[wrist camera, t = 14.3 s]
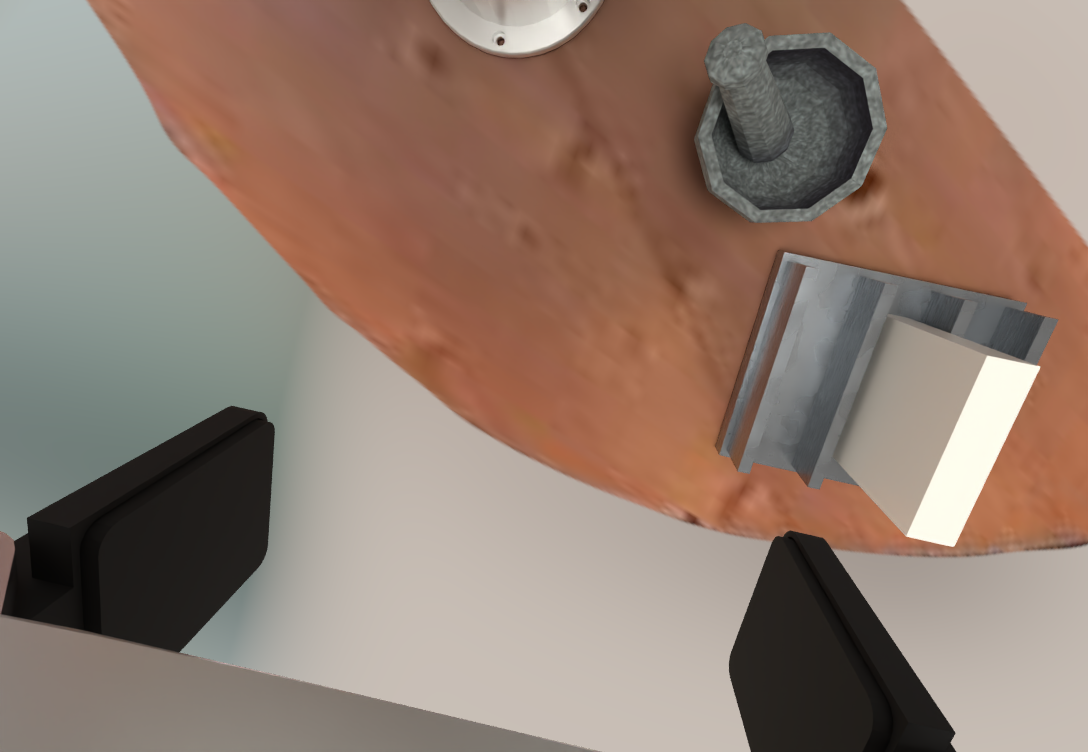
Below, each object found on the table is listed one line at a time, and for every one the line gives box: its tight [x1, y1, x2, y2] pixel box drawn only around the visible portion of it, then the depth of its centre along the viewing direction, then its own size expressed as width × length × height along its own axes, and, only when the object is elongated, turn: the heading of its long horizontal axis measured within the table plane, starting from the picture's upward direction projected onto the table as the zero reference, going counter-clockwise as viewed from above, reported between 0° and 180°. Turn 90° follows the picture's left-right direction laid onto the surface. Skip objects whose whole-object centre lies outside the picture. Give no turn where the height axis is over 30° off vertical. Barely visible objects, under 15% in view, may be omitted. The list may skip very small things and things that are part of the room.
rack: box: [715, 250, 1058, 489], centre depth 39 cm, size 16×15×5 cm
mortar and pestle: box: [694, 23, 887, 223], centre depth 32 cm, size 11×9×12 cm
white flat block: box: [832, 314, 1040, 547], centre depth 34 cm, size 2×10×12 cm, turn 169°
